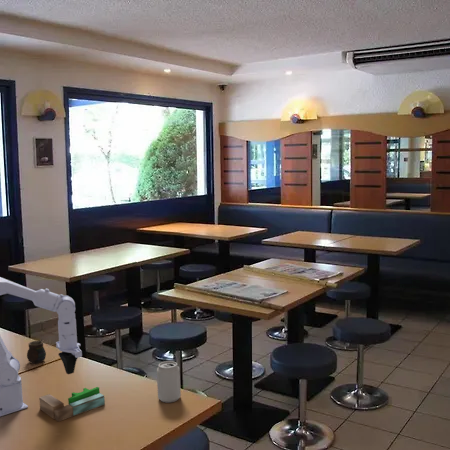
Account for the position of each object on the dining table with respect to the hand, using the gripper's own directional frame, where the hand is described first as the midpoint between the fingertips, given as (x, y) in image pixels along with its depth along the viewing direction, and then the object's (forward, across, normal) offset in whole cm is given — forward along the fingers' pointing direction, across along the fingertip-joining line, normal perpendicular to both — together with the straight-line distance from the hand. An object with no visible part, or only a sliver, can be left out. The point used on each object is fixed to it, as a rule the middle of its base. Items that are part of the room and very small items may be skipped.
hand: (70, 373), depth 182 cm
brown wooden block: (+9, -4, +9) cm, 14 cm away
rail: (+9, -10, +2) cm, 14 cm away
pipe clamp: (+10, -6, -1) cm, 11 cm away
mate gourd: (+9, +44, -7) cm, 45 cm away
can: (+9, -24, -23) cm, 34 cm away
